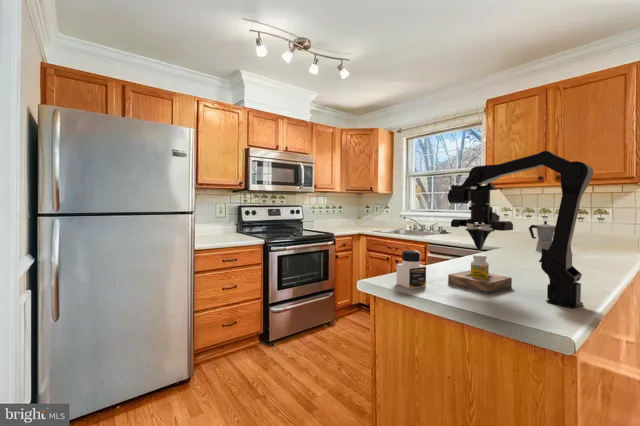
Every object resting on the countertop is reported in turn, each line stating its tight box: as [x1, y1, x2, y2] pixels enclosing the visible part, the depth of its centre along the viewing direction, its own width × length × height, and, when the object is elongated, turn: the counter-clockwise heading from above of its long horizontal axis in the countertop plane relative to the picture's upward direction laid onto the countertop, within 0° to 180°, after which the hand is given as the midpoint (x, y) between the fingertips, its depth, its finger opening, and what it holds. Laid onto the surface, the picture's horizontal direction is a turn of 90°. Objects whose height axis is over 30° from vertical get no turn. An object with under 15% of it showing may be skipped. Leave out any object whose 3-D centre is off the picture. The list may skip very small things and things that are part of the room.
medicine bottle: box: [396, 249, 427, 290], centre depth 104 cm, size 7×7×12 cm
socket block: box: [447, 269, 513, 295], centre depth 103 cm, size 14×14×4 cm
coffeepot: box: [528, 220, 556, 253], centre depth 180 cm, size 15×9×18 cm, turn 79°
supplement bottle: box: [470, 254, 490, 279], centre depth 103 cm, size 5×5×10 cm
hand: (479, 249), depth 103 cm, fingers closed
